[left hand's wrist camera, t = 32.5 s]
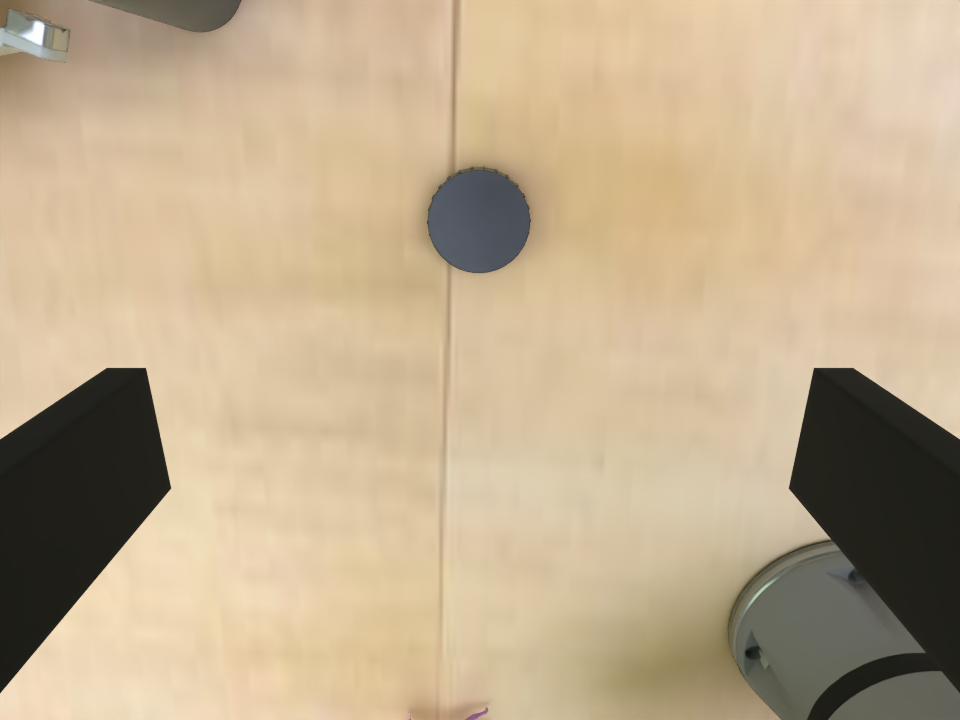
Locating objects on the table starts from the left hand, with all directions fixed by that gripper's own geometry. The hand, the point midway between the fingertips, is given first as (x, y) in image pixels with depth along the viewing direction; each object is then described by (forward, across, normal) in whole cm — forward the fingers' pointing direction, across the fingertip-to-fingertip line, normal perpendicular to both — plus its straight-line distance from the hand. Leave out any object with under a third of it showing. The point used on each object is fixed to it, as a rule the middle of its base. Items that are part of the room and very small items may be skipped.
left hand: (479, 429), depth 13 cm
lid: (+25, 0, 0) cm, 25 cm away
